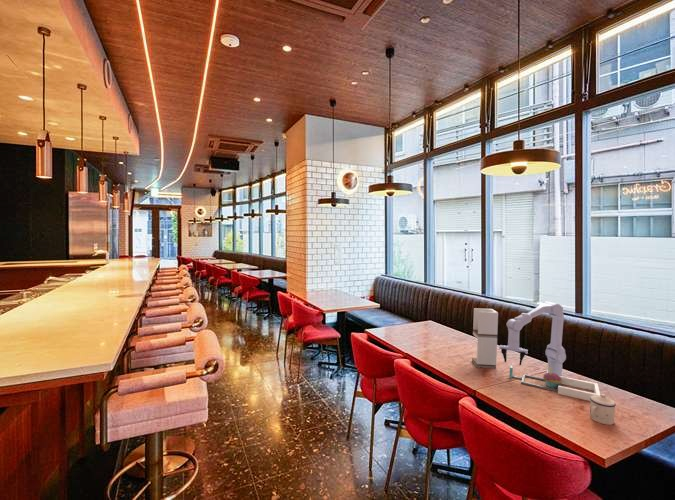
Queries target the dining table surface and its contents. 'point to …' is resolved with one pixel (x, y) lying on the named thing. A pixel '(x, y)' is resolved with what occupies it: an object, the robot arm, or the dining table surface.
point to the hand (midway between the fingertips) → (512, 363)
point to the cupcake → (552, 379)
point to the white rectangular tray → (579, 384)
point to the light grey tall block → (485, 337)
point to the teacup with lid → (602, 409)
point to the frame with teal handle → (530, 383)
